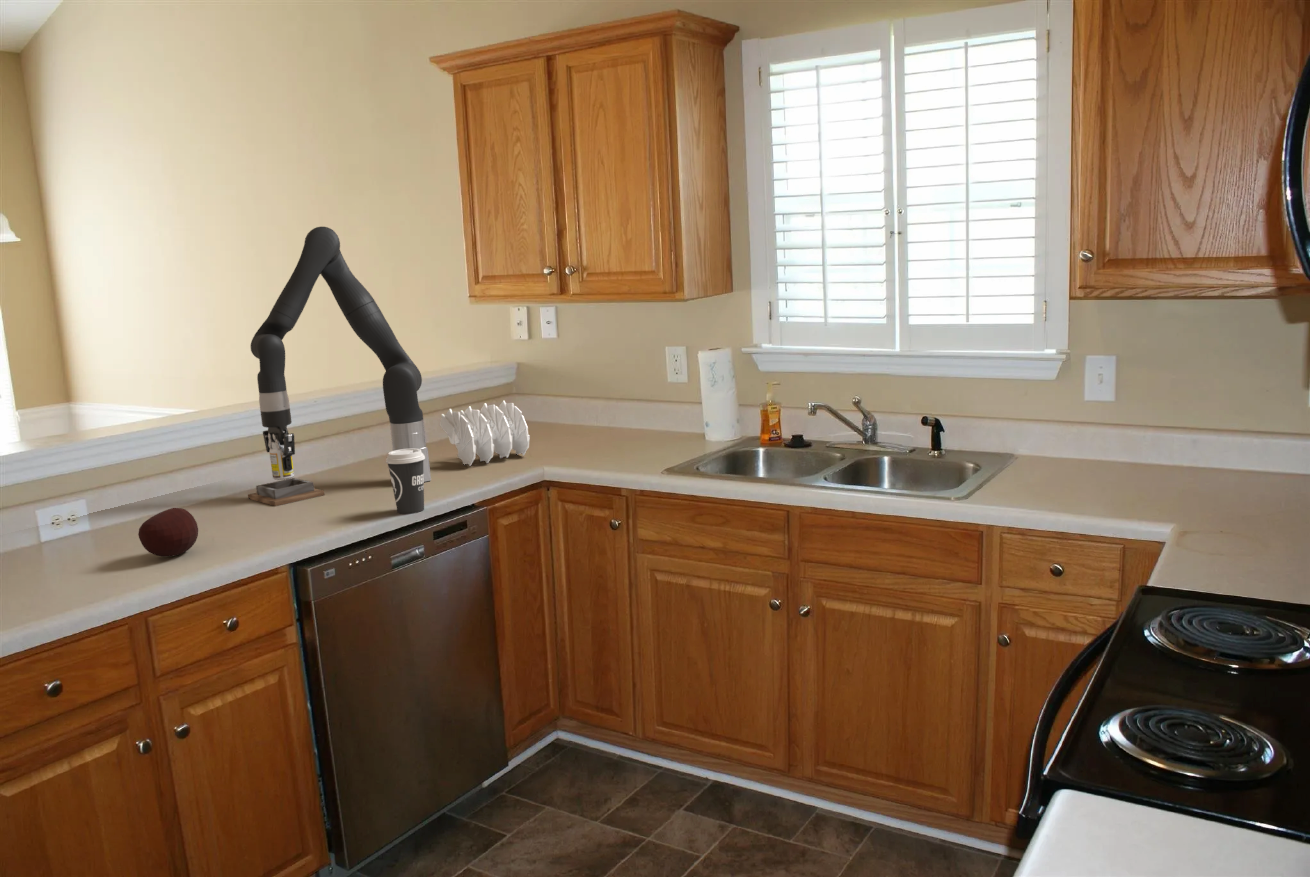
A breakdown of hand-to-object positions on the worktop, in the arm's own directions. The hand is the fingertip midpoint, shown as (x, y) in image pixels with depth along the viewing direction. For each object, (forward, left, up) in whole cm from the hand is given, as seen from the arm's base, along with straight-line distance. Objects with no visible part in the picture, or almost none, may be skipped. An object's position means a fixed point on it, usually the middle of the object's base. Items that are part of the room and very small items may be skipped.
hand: (282, 469), depth 282 cm
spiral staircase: (-13, -60, -8) cm, 62 cm away
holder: (0, 0, -8) cm, 8 cm away
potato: (-33, +43, -8) cm, 55 cm away
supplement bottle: (0, 0, -3) cm, 3 cm away
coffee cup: (-46, -10, -8) cm, 48 cm away
